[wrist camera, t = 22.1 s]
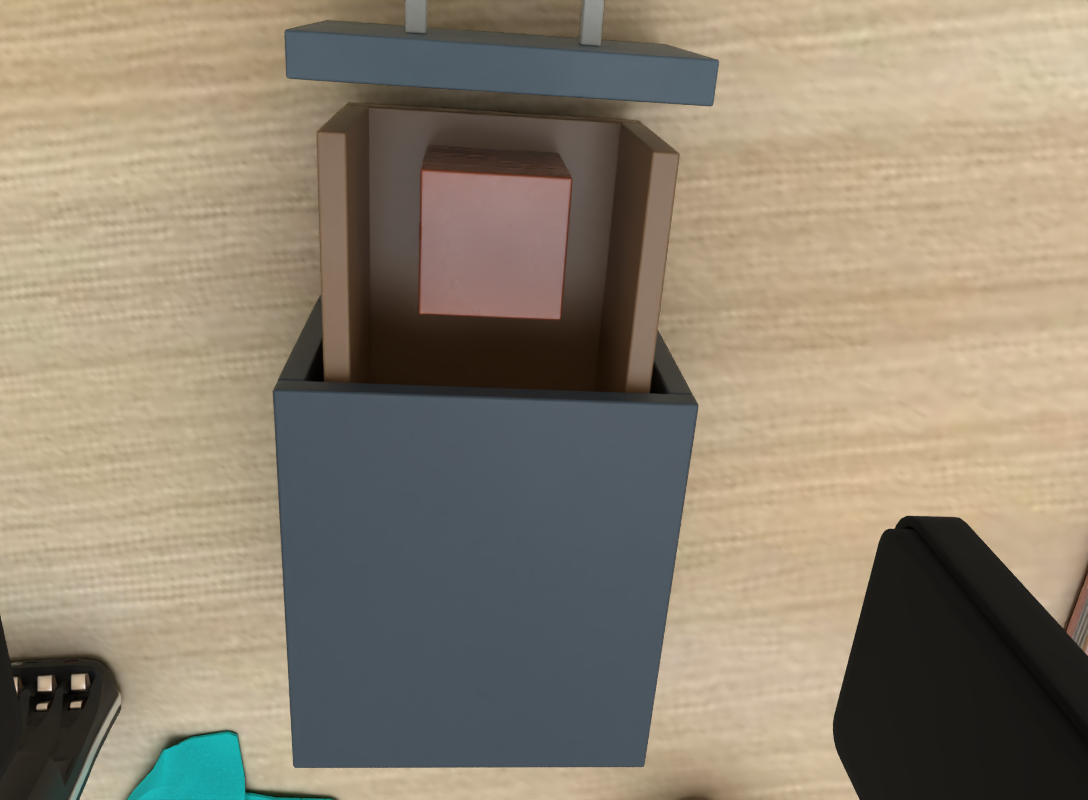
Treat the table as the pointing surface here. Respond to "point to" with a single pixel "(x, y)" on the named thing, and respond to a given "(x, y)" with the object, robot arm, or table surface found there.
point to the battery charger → (59, 727)
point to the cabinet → (475, 566)
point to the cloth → (200, 772)
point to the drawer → (507, 67)
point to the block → (493, 233)
